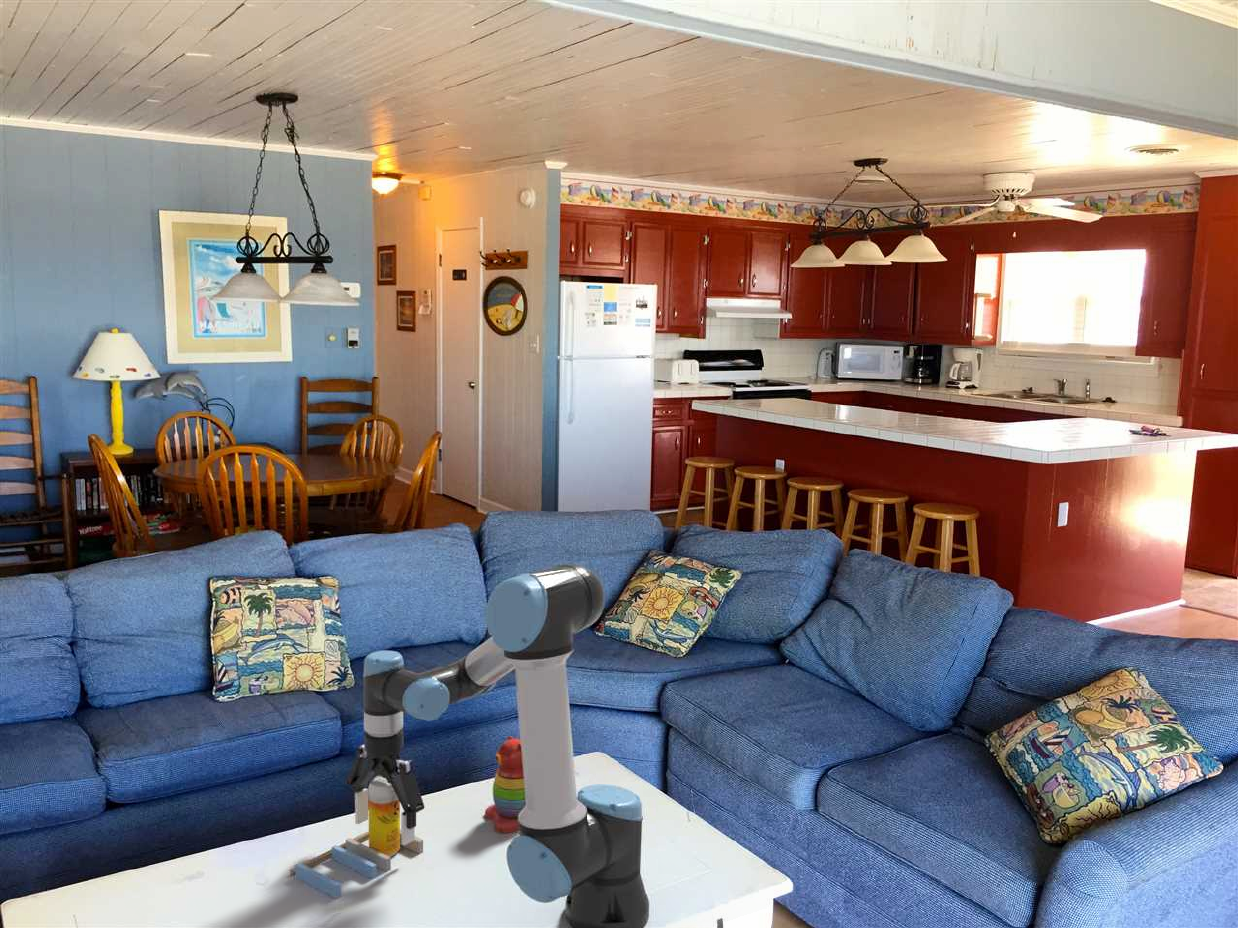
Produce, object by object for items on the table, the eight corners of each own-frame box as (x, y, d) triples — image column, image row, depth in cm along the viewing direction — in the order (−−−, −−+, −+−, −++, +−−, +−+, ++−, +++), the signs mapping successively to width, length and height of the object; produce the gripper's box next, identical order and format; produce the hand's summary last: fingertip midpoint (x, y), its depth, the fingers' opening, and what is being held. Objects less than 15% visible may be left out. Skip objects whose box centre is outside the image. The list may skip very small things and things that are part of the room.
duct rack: (423, 851, 202) (423, 839, 202) (336, 898, 185) (336, 885, 185) (377, 830, 210) (377, 819, 210) (290, 874, 193) (290, 862, 192)
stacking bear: (482, 812, 219) (483, 734, 217) (526, 804, 224) (527, 727, 221) (498, 835, 210) (498, 753, 207) (543, 826, 214) (544, 746, 212)
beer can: (392, 861, 198) (392, 788, 196) (363, 857, 200) (363, 785, 198) (405, 846, 204) (404, 775, 202) (377, 842, 206) (376, 772, 204)
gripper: (442, 739, 195) (442, 843, 197) (357, 709, 209) (358, 806, 212) (413, 752, 188) (413, 859, 191) (327, 720, 203) (328, 819, 206)
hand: (384, 831), depth 201 cm, fingers open, 13 cm apart
